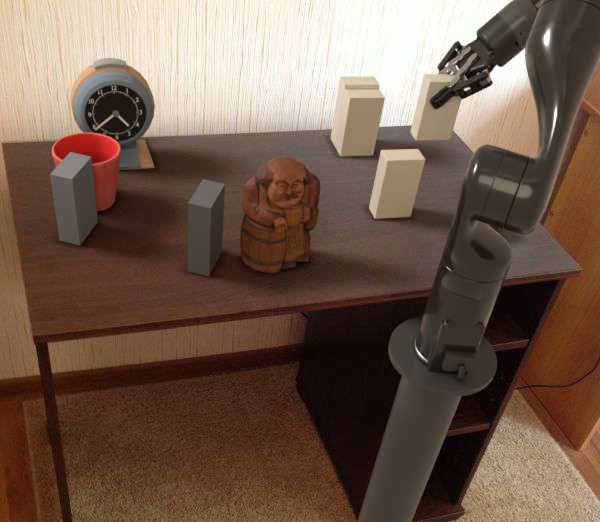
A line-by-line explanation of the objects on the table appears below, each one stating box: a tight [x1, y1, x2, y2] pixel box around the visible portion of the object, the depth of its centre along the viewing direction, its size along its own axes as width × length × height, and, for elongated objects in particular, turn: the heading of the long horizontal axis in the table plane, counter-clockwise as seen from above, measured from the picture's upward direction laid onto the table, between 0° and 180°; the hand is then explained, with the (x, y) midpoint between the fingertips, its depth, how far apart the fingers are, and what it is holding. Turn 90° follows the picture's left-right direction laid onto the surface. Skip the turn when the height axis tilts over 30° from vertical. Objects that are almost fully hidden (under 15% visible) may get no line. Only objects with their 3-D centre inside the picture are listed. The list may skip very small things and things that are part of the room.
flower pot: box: [51, 132, 121, 212], centre depth 126 cm, size 11×11×10 cm
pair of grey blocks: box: [49, 152, 226, 277], centre depth 117 cm, size 7×25×13 cm, turn 77°
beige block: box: [410, 73, 463, 142], centre depth 136 cm, size 7×3×11 cm, turn 105°
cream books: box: [330, 76, 426, 220], centre depth 141 cm, size 29×7×13 cm, turn 15°
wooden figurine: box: [239, 155, 321, 274], centre depth 117 cm, size 12×6×18 cm, turn 119°
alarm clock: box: [69, 57, 156, 171], centre depth 133 cm, size 14×10×18 cm
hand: (429, 100), depth 134 cm, fingers closed on beige block, 3 cm apart
